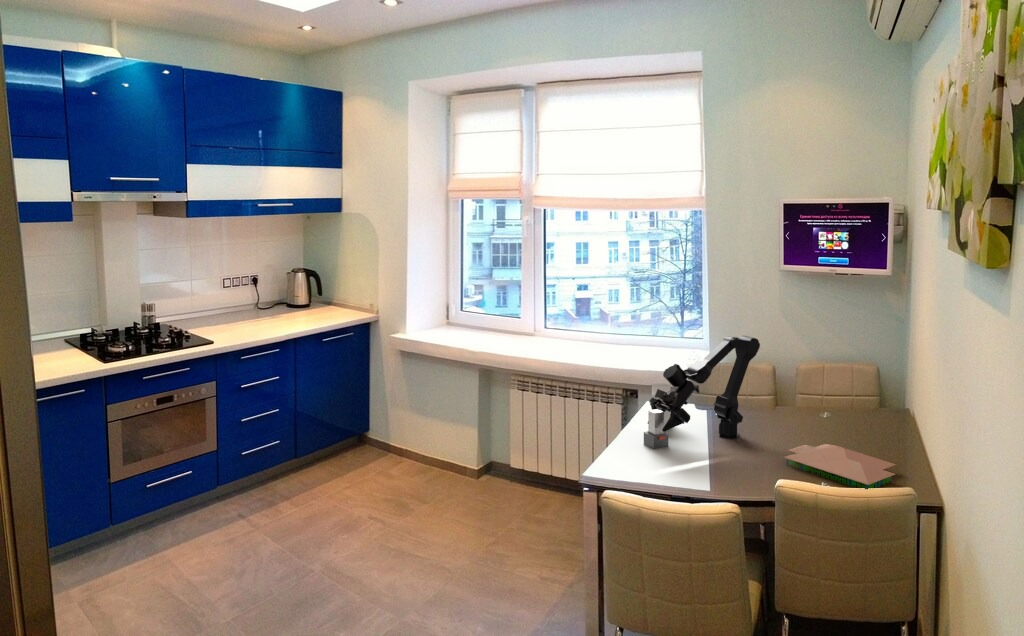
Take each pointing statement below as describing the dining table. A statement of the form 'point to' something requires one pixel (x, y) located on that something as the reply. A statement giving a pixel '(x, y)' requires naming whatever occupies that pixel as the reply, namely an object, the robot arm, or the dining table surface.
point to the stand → (656, 440)
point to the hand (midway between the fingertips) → (655, 427)
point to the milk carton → (665, 388)
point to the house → (842, 463)
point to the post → (655, 422)
